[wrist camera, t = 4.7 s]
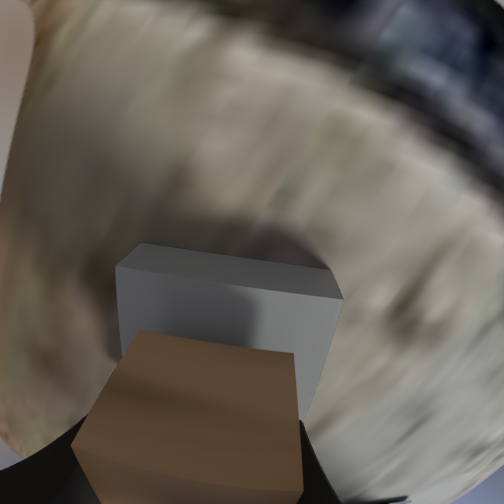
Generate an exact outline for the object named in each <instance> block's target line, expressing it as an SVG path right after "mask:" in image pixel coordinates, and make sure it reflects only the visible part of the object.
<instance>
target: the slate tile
mask: <svg viewBox="0 0 504 504" xmlns="http://www.w3.org/2000/svg"><path fill="white" fill-rule="evenodd" d="M115 273H116V293H117V309H118V321H119V332H120V342H121V352H122V357H123V355H124V353H125V352H126V350H127V348H128V347H129V345H130V344H131V342H132V340H133V339H134V337H135V336H136V334H137V332H138V331H139V329H140V330H145V331H150V332H155V333H160V334H165V335H170V336H176V337H181V338H187V339H193V340H199V341H205V342H212V343H218V344H225V345H232V346H239V347H246V348H254V349H262V350H270V351H279V352H289V353H294V363H295V374H296V387H297V399H298V412H299V420H301V421H302V422H303V423H304V420H305V418H306V415H307V412H308V410H309V407H310V404H311V402H312V399H313V396H314V393H315V390H316V387H317V385H318V382H319V379H320V376H321V373H322V370H323V367H324V364H325V361H326V358H327V355H328V352H329V348H330V345H331V342H332V339H333V336H334V332H335V329H336V326H337V322H338V319H339V315H340V312H341V308H342V305H343V301H344V299H343V296H342V294H341V292H340V289H339V287H338V284H337V282H336V280H335V278H334V275H333V273H332V271H331V270H328V269H321V268H314V267H307V266H299V265H292V264H285V263H278V262H271V261H264V260H257V259H250V258H243V257H236V256H229V255H222V254H215V253H208V252H201V251H194V250H188V249H181V248H174V247H167V246H160V245H153V244H147V243H140V244H139V245H138V246H137V247H136V248H135V249H134V250H133V251H131V252H130V253H129V254H128V255H127V256H126V257H125V258H124V259H122V260H121V261H120V262H119V263H118V264H117V265H116V266H115Z"/></svg>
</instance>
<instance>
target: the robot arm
mask: <svg viewBox="0 0 504 504" xmlns="http://www.w3.org/2000/svg"><path fill="white" fill-rule="evenodd" d="M88 414H89V413H88ZM88 414H87V415H86V416H85V417H84V418H83V419H81V420H80V421H79V422H78V423H77V424H75V425H74V426H73V427H72V428H71V429H69V430H68V431H67V432H65V433H64V434H63V435H61V436H60V437H59V438H57V439H56V440H55V441H53V442H52V443H50V444H49V445H47V446H46V447H44V448H43V449H41V450H40V451H38V452H37V453H35V454H33V455H31V456H30V457H28V458H26V459H24V460H22V461H20V462H18V463H16V464H14V465H12V466H10V467H8V468H6V469H3V470H0V504H101V502H100V500H99V499H98V497H97V495H96V494H95V492H94V490H93V488H92V486H91V485H90V483H89V481H88V479H87V477H86V475H85V473H84V472H83V470H82V468H81V466H80V464H79V462H78V460H77V458H76V456H75V454H74V451H73V449H72V447H71V444H72V442H73V440H74V439H75V437H76V435H77V433H78V431H79V430H80V428H81V426H82V424H83V423H84V421H85V419H86V417H87V416H88ZM299 426H300V440H301V456H302V472H303V490H304V491H303V493H302V495H301V496H300V498H299V500H298V501H297V503H296V504H342V503H341V501H340V500H339V498H338V496H337V495H336V493H335V491H334V490H333V488H332V486H331V485H330V483H329V481H328V479H327V477H326V475H325V473H324V471H323V469H322V467H321V466H320V464H319V461H318V459H317V457H316V455H315V453H314V450H313V448H312V446H311V443H310V441H309V438H308V436H307V433H306V430H305V427H304V424H303V422H302V421H301V420H299ZM390 504H412V502H411V501H410V500H409V501H403V502H396V503H390Z"/></svg>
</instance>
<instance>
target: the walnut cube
mask: <svg viewBox="0 0 504 504" xmlns="http://www.w3.org/2000/svg"><path fill="white" fill-rule="evenodd" d="M71 447H72V449H73V451H74V454H75V456H76V458H77V460H78V462H79V464H80V466H81V468H82V470H83V472H84V473H85V475H86V477H87V479H88V481H89V483H90V485H91V486H92V488H93V490H94V492H95V494H96V495H97V497H98V499H99V500H100V502H101V504H296V503H297V501H298V500H299V498H300V496H301V495H302V493H303V491H304V490H303V472H302V456H301V440H300V426H299V412H298V399H297V387H296V374H295V363H294V353H289V352H279V351H270V350H262V349H254V348H246V347H239V346H232V345H225V344H218V343H212V342H205V341H199V340H193V339H187V338H181V337H176V336H170V335H165V334H160V333H155V332H150V331H145V330H140V329H139V331H138V332H137V334H136V336H135V337H134V339H133V340H132V342H131V344H130V345H129V347H128V348H127V350H126V352H125V353H124V355H123V357H122V358H121V360H120V361H119V363H118V365H117V366H116V368H115V370H114V371H113V373H112V375H111V376H110V378H109V380H108V381H107V383H106V385H105V386H104V388H103V390H102V391H101V393H100V395H99V397H98V398H97V400H96V402H95V403H94V405H93V407H92V409H91V410H90V412H89V414H88V416H87V417H86V419H85V421H84V423H83V424H82V426H81V428H80V430H79V431H78V433H77V435H76V437H75V439H74V440H73V442H72V444H71Z"/></svg>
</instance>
